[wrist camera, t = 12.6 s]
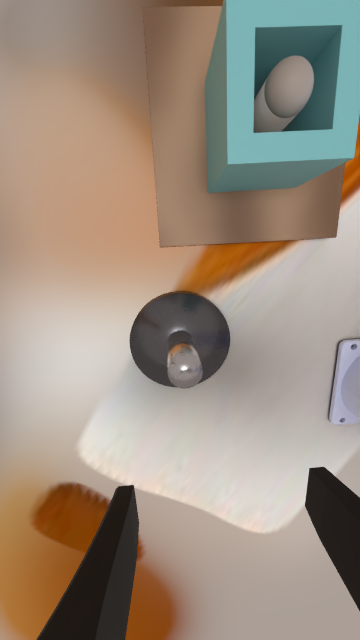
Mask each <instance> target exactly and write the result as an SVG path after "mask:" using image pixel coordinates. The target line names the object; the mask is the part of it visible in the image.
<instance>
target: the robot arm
mask: <svg viewBox="0 0 360 640" xmlns="http://www.w3.org/2000/svg"><path fill="white" fill-rule="evenodd" d="M351 345H353V347H352V348H351ZM329 421H330V422H331V423H332V424H333V425H342V424H353V423H360V339H353V340H344V341H342V342H341V343H340V345H339V350H338V357H337V364H336V371H335V379H334V386H333V393H332V400H331V408H330V415H329ZM305 507H306V509H307V511H308V514H309V516H310V518H311V521H312V523H313V525H314V527H315V529H316V532H317V534H318V536H319V538H320V540H321V542H322V544H323V546H324V547H325V549H326V551H327V553H328V555H329V557H330V558H331V560H332V562H333V564H334V566H335V567H336V569H337V571H338V573H339V574H340V576H341V578H342V580H343V582H344V584H345V585H346V587H347V589H348V591H349V593H350V594H351V596H352V598H353V600H354V602H355V603H356V605H357V607H358V609H359V611H360V498H359V497H358V496H357V495H356V494H355V493H354V492H352V491H351V490H350V489H349V488H348V487H347V486H345V485H344V484H343V483H342V482H341V481H340V480H338V479H337V478H336V477H335V476H334V475H333V474H332V473H331V472H329V471H328V470H327V469H326V468H325V467H318V468H310V469H309V477H308V485H307V494H306V502H305ZM138 530H139V519H138V512H137V505H136V498H135V491H134V485H129V486H119V487H118V488H117V489H116V490H115V493H114V495H113V498H112V500H111V502H110V505H109V507H108V509H107V512H106V514H105V516H104V518H103V520H102V522H101V525H100V527H99V529H98V531H97V533H96V535H95V537H94V539H93V541H92V543H91V545H90V547H89V549H88V551H87V553H86V555H85V557H84V559H83V561H82V562H81V564H80V566H79V568H78V570H77V571H76V574H75V575H74V577H73V579H72V580H71V583H70V584H69V586H68V588H67V590H66V591H65V593H64V595H63V597H62V598H61V600H60V602H59V604H58V605H57V607H56V609H55V610H54V612H53V614H52V615H51V617H50V619H49V620H48V622H47V624H46V625H45V627H44V628H43V630H42V632H41V633H40V635H39V636H38V638H37V640H125V636H126V630H127V623H128V616H129V609H130V602H131V594H132V588H133V581H134V574H135V566H136V559H137V546H138Z"/></svg>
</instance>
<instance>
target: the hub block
mask: <svg viewBox="0 0 360 640" xmlns="http://www.w3.org/2000/svg"><path fill="white" fill-rule="evenodd" d="M221 10H222V6H204V7H143V19H144V20H143V21H144V33H145V34H144V35H145V48H146V62H147V76H148V89H149V103H150V115H151V130H152V144H153V157H154V170H155V185H156V199H157V212H158V226H159V238H160V239H159V240H160V247H176V246H195V245H214V244H232V243H250V242H268V241H287V240H305V239H323V238H334V237H336V236H337V227H338V219H339V210H340V202H341V194H342V185H343V177H344V168H345V163H343V164H341V165H339V166H337V167H335V168H333V169H331V170H329V171H327V172H325V173H323V174H321V175H319V176H317V177H315V178H313V179H311V180H309V181H307V182H305V183H303V184H301V185H299V186H298V187H296V188H286V189H268V190H250V191H232V192H215V193H208V185H207V150H206V115H205V80H206V75H207V71H208V67H209V62H210V58H211V54H212V49H213V45H214V40H215V36H216V32H217V27H218V23H219V19H220V14H221ZM313 85H314V73H313V69H312V66H311V64H310V63H309V61H308V60H307V59H305V58H304V57H302V56H296V55H294V56H289V57H287V58H285V59H283V60H281V61H280V62H279V63H278V64H277V65H276V66H275V67H274V68H273V69H272V71H271V72H270V74H269V75H268V77H267V79H266V80H265V82H264V84H263V86H262V87H261V89H260V91H259V93H258V94H257V96H256V98H255V100H254V127H253V133H264V132H281V131H282V130H283V129H284V128H285V127H286V126H287V125H288V124H289V123H290V122H291V121H292V120H293V119H294V118H295V116H296V115H297V114H298V113H299V112H300V111H301V110H302V109H303V108H304V106H305V105H306V103H307V102H308V100H309V98H310V96H311V93H312V90H313Z"/></svg>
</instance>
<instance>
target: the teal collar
mask: <svg viewBox="0 0 360 640" xmlns="http://www.w3.org/2000/svg"><path fill="white" fill-rule="evenodd" d="M294 55H296V56H302V57H304V58H305V59H307V60H308V61H309V63H310V64H311V66H312V69H313V73H314V85H313V90H312V93H311V96H310V98H309V100H308V102H307V103H306V105H305V106H304V108H303V109H302V110H301V111H300V112H299V113H298V114H297V115H296V116H295V118H294V119H293V120H292V121H291V122H290V123H289V124H288V125H287V126H286V127H285V128H284V129H283V130H282V131H281V132H264V133H253V127H254V100H255V98H256V96H257V94H258V93H259V91H260V89H261V87H262V86H263V84H264V82H265V80H266V79H267V77H268V75H269V74H270V72H271V71H272V69H273V68H274V67H275V66H276V65H277V64H278V63H279V62H280V61H281V60H283V59H285V58H287V57H289V56H294ZM359 113H360V0H224V1H223V6H222V10H221V14H220V19H219V23H218V27H217V32H216V36H215V40H214V45H213V49H212V54H211V58H210V62H209V67H208V71H207V75H206V80H205V115H206V150H207V185H208V193H215V192H232V191H250V190H268V189H286V188H296V187H298V186H299V185H301V184H303V183H305V182H307V181H309V180H311V179H313V178H315V177H317V176H319V175H321V174H323V173H325V172H327V171H329V170H331V169H333V168H335V167H337V166H339V165H341V164H343V163H345V162H347V161H349V160H351V159H353V158H354V155H355V146H356V138H357V130H358V121H359Z"/></svg>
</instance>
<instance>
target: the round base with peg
mask: <svg viewBox="0 0 360 640" xmlns="http://www.w3.org/2000/svg"><path fill="white" fill-rule="evenodd" d="M229 345H230V333H229V328H228V325H227V322H226V320H225V318H224V316H223V315H222V313H221V312H220V311H219V309H218V308H217V307H216V306H215V305H214V304H213V303H211V302H210V301H209V300H208V299H206V298H204V297H203V296H200V295H198V294H195V293H191V292H184V291H176V292H169V293H166V294H163V295H160V296H158V297H156V298H154V299H153V300H151V301H150V302H149V303H147V304H146V305H145V306H144V307H143V308H142V309H141V311H140V312H139V314H138V315H137V317H136V319H135V321H134V324H133V326H132V329H131V333H130V348H131V353H132V356H133V359H134V361H135V363H136V365H137V366H138V367H139V369H140V370H141V371H142V372H143V373H144V374H145V375H146V376H147V377H148V378H150V379H152V380H153V381H155V382H157V383H159V384H162V385H165V386H170V387H179V388H190V387H193V386H195V385H196V384H198V383H201V382H203V381H205V380H206V379H208V378H209V377H211V376H212V375H213V374H214V373H215V372H216V371H217V370H218V369H219V368H220V367H221V365H222V364H223V362H224V360H225V358H226V356H227V353H228V350H229Z"/></svg>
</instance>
